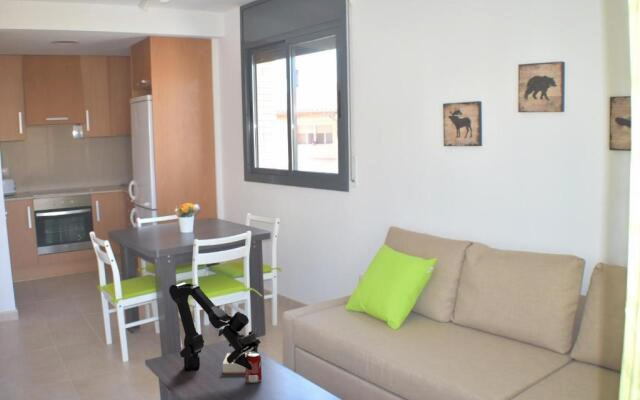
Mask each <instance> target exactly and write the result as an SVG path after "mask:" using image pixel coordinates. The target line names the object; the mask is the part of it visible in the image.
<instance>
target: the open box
mask: <svg viewBox="0 0 640 400" xmlns="http://www.w3.org/2000/svg"><path fill="white" fill-rule="evenodd" d="M231 353H232V352H227V353H226V355H225V358H224V359H223V362H222V374H246V371H245V367H243V366H241V365H238V364H236V363H234V362H235V360H234V362H232V363H231V364H229V363H228V362H227V357H228V356H229V355H230V354H231ZM247 353H248V352H245V357H246V356H247ZM243 354H244V353H243Z"/></svg>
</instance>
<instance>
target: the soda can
mask: <svg viewBox="0 0 640 400" xmlns="http://www.w3.org/2000/svg"><path fill="white" fill-rule="evenodd" d="M246 353H247V356H246V357H245V358H246V359H247V361H248V362H249V364H250V365H251V367H252V370H249V369H247V368H245V371H246V373H245V381H246V383H249V384H257V383H259V382H261V381H262V380H263V379H262V376H263V375H262V356H261V355H260V352H259V351H258V352H248V351H247V352H246Z"/></svg>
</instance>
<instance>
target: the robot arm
mask: <svg viewBox="0 0 640 400" xmlns="http://www.w3.org/2000/svg"><path fill="white" fill-rule="evenodd" d="M168 291H169V292H168V293H169V295H170V297H171V300H172V301H173V302H174V303H175V304H176V305H177V309H178V313H179V317H180V320H181V324H182V325H181V326H182V327H183V331H184V339H183V345H184V346H183V349H181V351H179V355H180V357H181V358H183V371H184V372H187V371H197V370H199V369H200V367H201V361H200V356H199V354H200V353H202V351H203V348H204V346H205V345H204V344H205V340H204V339H203V338H204V337H203V334H202V333H199V332H197V330H196V326H195V323H194V319H193V316H192V312H191V308H190V304H189V303H190V302H189V297H190V296H191V298H192V299H194V301H195V302H196V303H197V304H198V305H199V306H200V308H201V309H202V310H203V311H204V312H205V313H206V315H207V317H208V320H209V323H210V324H211V326H212V327H213V328H214V329H219V330H218V337H222V336H223V337H224V338H225V339H226V341H227V342H228V343H229V344H228V347H229V348H231V347H232V349H233V351H232V352H230V353H231V354H230V355H229V356H228V357H227V362H228V363H229V364H231V363H232V362H234V360H235V362H234V363H236V364H238V365H241V366H243V367H245V368H247V369H249V370H252V367H251V365H250V364H249V362H248V361H247V359H246V358H245V353H248V352H259V350H258V347H259V346H260V344H261V341H260V339H259V338H257V333H256V332H255V331H254V330H251V331H249V332H248V334H247V335H244V334H242V333H241V334H240V333H239V332H241V331H242V330H243V329H245V327H246V326H247V325H248V324H249V321H250V320H249V318H248V315H245V314H244V313H241V312H240V311H239V310H238V311H236V312H235V313H234V315H233V316H232V315H230V314H228V313H227V312H226V311H224V310H223V309H222V308H219V307H217V306H216V304H214V303H213V301H212V300H211V299H210V297H208V296H207V294H206V293H205V292H204V291H203V290H202V289H201V286H200V285H199V284H192V283H186V281H185V282H184V281H180V282H177V283H175V284H172V285H170V286H169V289H168ZM222 327H223V328H222ZM243 353H244V354H243Z"/></svg>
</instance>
